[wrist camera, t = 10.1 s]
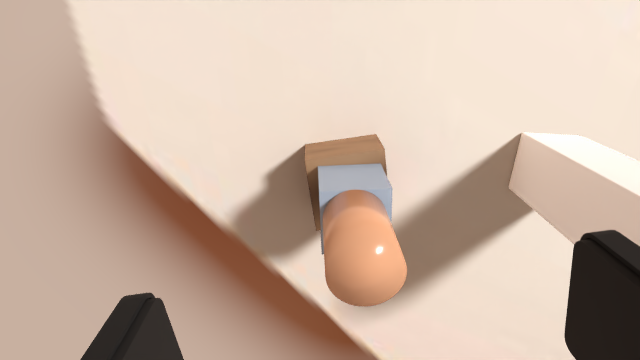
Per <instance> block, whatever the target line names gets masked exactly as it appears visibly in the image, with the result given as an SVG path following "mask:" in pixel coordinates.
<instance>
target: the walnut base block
mask: <svg viewBox="0 0 640 360" xmlns="http://www.w3.org/2000/svg"><path fill="white" fill-rule="evenodd" d="M379 163H381V165H382V167H383V170H384V172H385V174H386V176H387V171H386V160H385V149H384V147H383V145H382V144H381V142H380V140H379V138H378V137H377V135H376V134H374V135H367V136H360V137H353V138H346V139H339V140H333V141H326V142H319V143H312V144H305V166H306V172H307V178H308V184H309V190H310V196H311V202H312V208H313V214H314V220H315V226H316V231H317V230H321V225H320V202H319V180H318V166H334V165H357V164H379Z"/></svg>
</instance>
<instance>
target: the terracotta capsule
mask: <svg viewBox="0 0 640 360" xmlns="http://www.w3.org/2000/svg"><path fill="white" fill-rule="evenodd" d="M322 223H323V241H324V260H325V277H326V282H327V285H328V287H329V289H330V291H331V292H332V293H333V294H334V295H335V296H336V297H337V298H338V299H340V300H341V301H343V302H345V303H348V304H351V305H355V306H372V305H377V304H380V303H383V302H385V301H387V300H389V299H390V298H392V297H393V296H394V295H395V294H396V293H398V291H399V290H400V289H401V287H402V286H403V284H404V282H405V279H406V275H407V266H406V262H405V259H404V256H403V253H402V251H401V248H400V245H399V243H398V240H397V237H396V235H395V232H394V229H393V227H392V224H391V221H390V219H389V216H388V213H387V211H386V208H385V206H384V204H383V202H382V201H381V200H380V199H379V198H378V197H377V196H376V195H374V194H372V193H370V192H368V191H365V190H356V189H355V190H348V191H344V192H342V193H339V194H338V195H336V196H335V197H333V198H332V199H331V200H330V201H329V202H328V204H327V205H326V207H325V209H324V212H323V217H322Z"/></svg>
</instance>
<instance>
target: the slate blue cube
mask: <svg viewBox="0 0 640 360" xmlns="http://www.w3.org/2000/svg"><path fill="white" fill-rule="evenodd" d="M318 180H319V202H320V225H321V247H322V254H324V241H323V223H322V217H323V212H324V209H325V207H326V205H327V204H328V202H329V201H330V200H331V199H332V198H333V197H335V196H336V195H338V194H339V193H342V192H344V191H348V190H355V189H356V190H365V191H368V192H370V193H372V194H374V195H376V196H377V197H378V198H379V199H380V200H381V201H382V202H383V204H384V206H385V208H386V211H387V213H388V216H389V219H390V221H391V216H392V186H391V184H390V182H389V180H388V178H387V176H386V174H385V172H384V170H383V167H382V165H381V163H379V164H357V165H334V166H318Z"/></svg>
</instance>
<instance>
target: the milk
mask: <svg viewBox="0 0 640 360" xmlns="http://www.w3.org/2000/svg"><path fill="white" fill-rule="evenodd" d="M509 189H510V190H511V191H513V192H514V193H515V194H516V195H517V196H518V197H520V198H521V199H522V200H523V201H524V202H525V203H527V204H528V205H529V206H530V207H531V208H532V209H534V210H535V211H536V212H537V213H538V214H539V215H540V216H542V217H543V218H544V219H545V220H546V221H547V222H549V223H550V224H551V225H552V226H553V227H554V228H556V229H557V230H558V231H559V232H560V233H561V234H563V235H564V236H565V237H566V238H567V239H568V240H570V241H571V242H572V243H573V244H575V243H576V242H577V241H580V239H581V237H582V235H583V234H585V233H590V232H597V231H605V230H616V231H618V232H620V233H621V234H623V235H624V236H625V237H627V238H628V239H630V240H631V241H633V242H634V243H635V244H637V245H638V246H640V161H638V160H636V159H633V158H631V157H629V156H627V155H624V154H622V153H620V152H617V151H615V150H613V149H610V148H608V147H606V146H604V145H601V144H599V143H597V142H594V141H592V140H590V139H587V138H585V137H583V136H580V135H562V134H543V133H522V134H521V138H520V142H519V146H518V150H517V154H516V159H515V163H514V167H513V171H512V175H511V179H510V183H509Z"/></svg>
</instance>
